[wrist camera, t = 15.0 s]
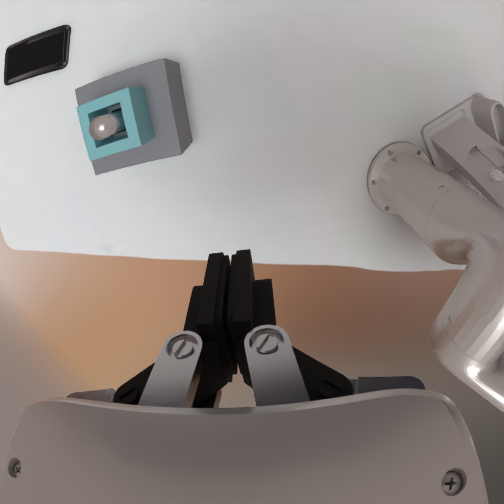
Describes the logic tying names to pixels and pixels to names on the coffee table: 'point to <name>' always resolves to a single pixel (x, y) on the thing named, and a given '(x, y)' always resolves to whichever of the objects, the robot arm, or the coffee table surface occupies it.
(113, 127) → the shaft
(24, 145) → the coffee table surface
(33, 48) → the phone
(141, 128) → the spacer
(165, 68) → the bearing block
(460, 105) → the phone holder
